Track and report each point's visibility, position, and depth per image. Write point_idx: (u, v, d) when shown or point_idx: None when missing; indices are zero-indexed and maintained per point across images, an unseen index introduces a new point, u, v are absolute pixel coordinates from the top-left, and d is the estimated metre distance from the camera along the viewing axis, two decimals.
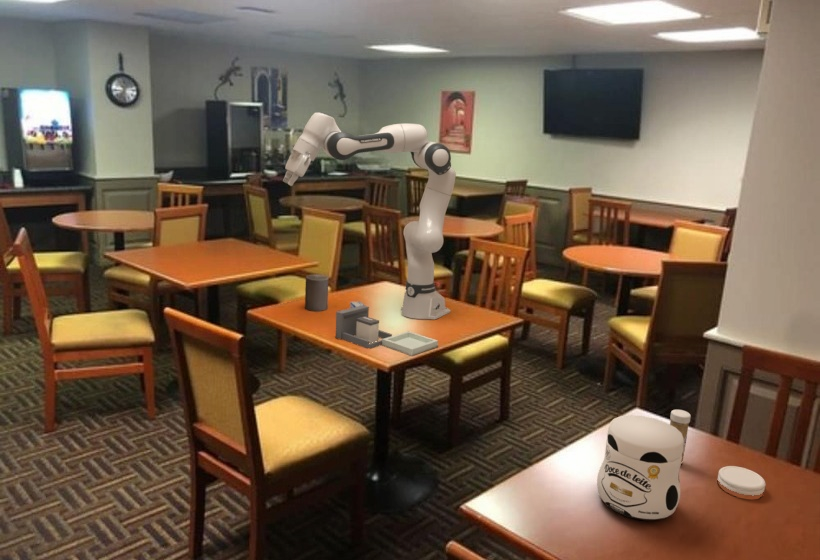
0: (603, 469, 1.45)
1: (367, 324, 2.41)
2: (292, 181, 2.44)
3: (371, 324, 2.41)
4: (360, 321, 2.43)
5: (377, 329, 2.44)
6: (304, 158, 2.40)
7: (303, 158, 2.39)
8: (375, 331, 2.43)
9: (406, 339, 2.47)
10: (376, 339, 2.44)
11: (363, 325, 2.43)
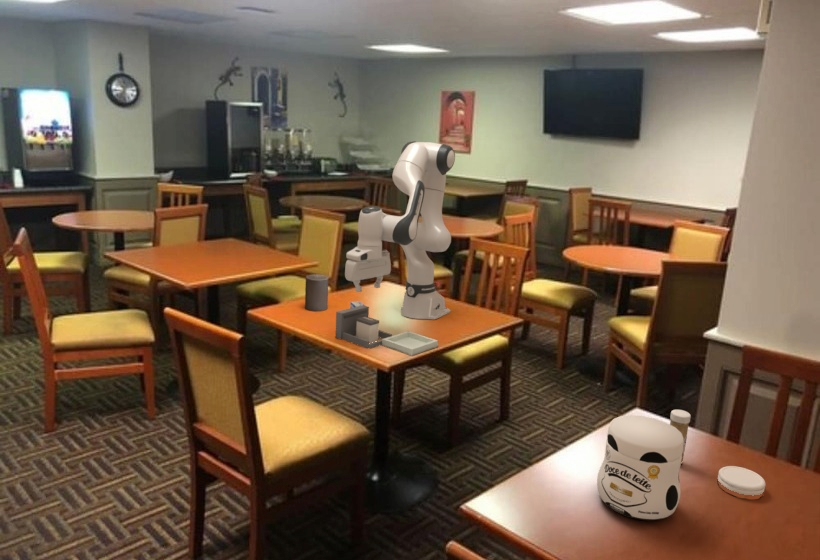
0: (603, 469, 1.45)
1: (367, 324, 2.41)
2: None
3: (371, 324, 2.41)
4: (360, 321, 2.43)
5: (377, 329, 2.44)
6: None
7: None
8: (375, 331, 2.43)
9: (406, 339, 2.47)
10: (376, 339, 2.44)
11: (363, 325, 2.43)
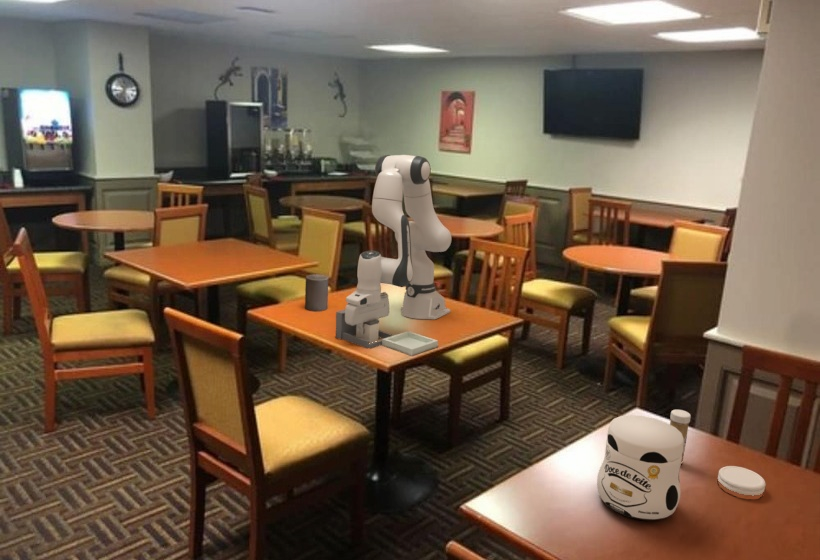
0: (603, 469, 1.45)
1: (367, 324, 2.41)
2: None
3: (371, 324, 2.41)
4: None
5: (377, 329, 2.44)
6: None
7: None
8: (375, 331, 2.43)
9: (406, 339, 2.47)
10: (376, 339, 2.44)
11: (363, 325, 2.43)
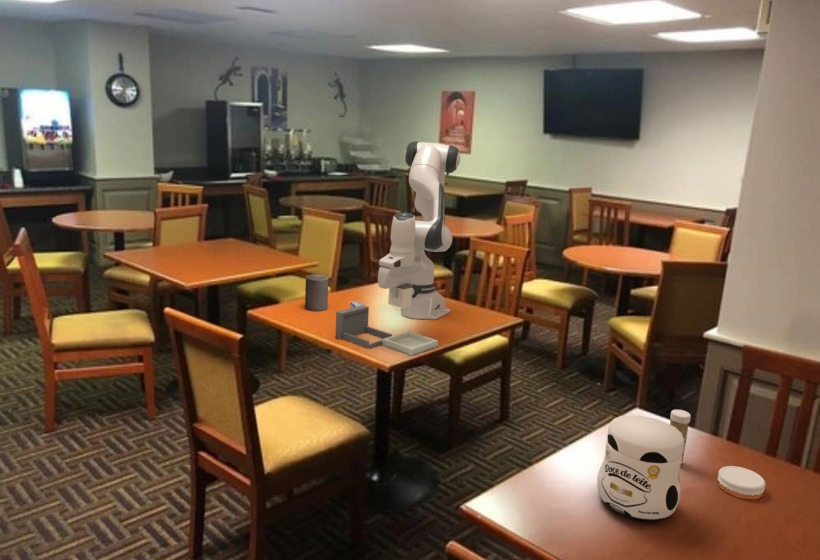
0: (603, 469, 1.45)
1: (400, 288, 2.35)
2: None
3: (404, 288, 2.34)
4: None
5: (410, 293, 2.37)
6: None
7: None
8: (408, 295, 2.36)
9: (406, 339, 2.47)
10: (409, 304, 2.38)
11: (396, 289, 2.36)
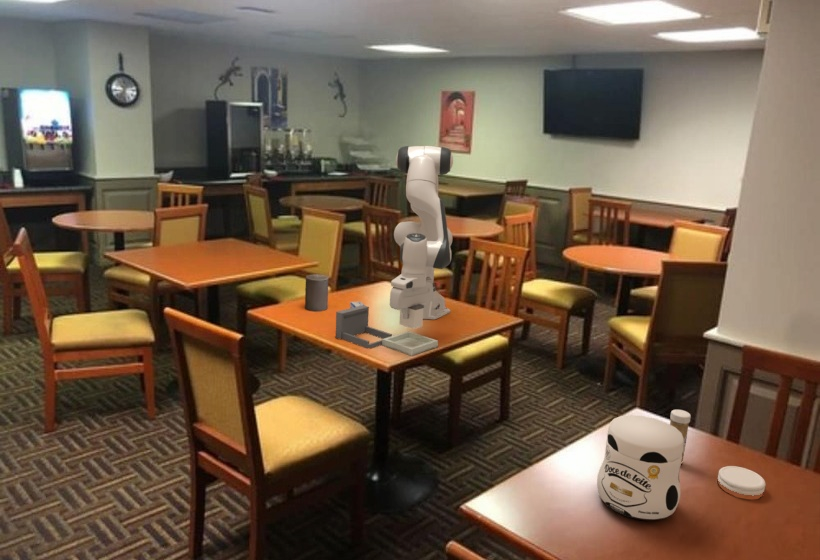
0: (603, 469, 1.45)
1: (412, 309, 2.35)
2: None
3: (416, 309, 2.34)
4: None
5: (422, 314, 2.37)
6: None
7: None
8: (420, 316, 2.37)
9: (406, 339, 2.47)
10: (420, 324, 2.38)
11: (407, 310, 2.36)
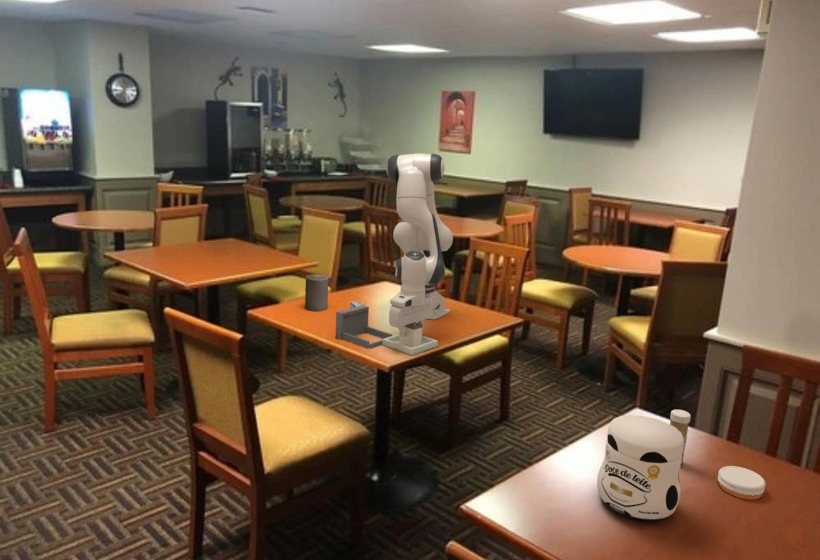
0: (603, 469, 1.45)
1: (411, 328, 2.37)
2: None
3: (415, 328, 2.36)
4: None
5: (421, 333, 2.39)
6: None
7: None
8: (419, 335, 2.39)
9: None
10: (419, 343, 2.40)
11: (406, 329, 2.38)
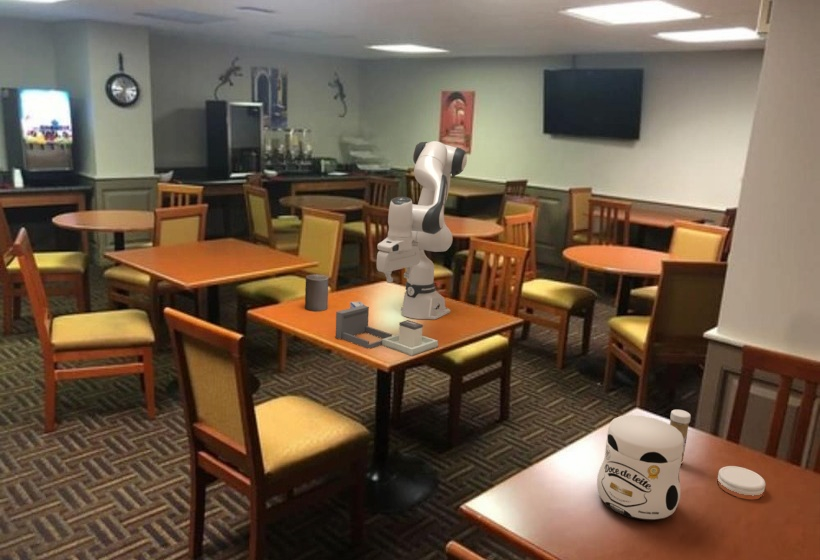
0: (603, 469, 1.45)
1: (411, 328, 2.37)
2: None
3: (415, 328, 2.36)
4: (403, 325, 2.39)
5: (421, 333, 2.39)
6: None
7: None
8: (419, 335, 2.39)
9: None
10: (419, 343, 2.40)
11: (406, 329, 2.38)
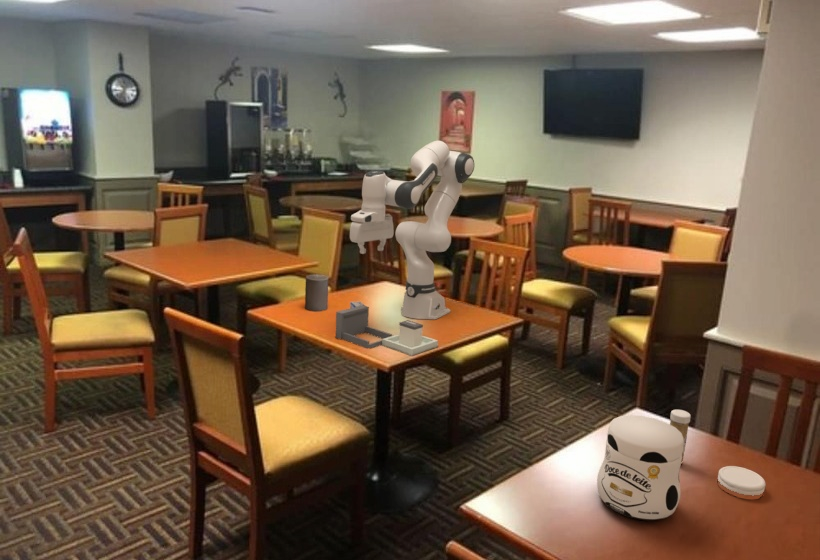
0: (603, 469, 1.45)
1: (411, 328, 2.37)
2: None
3: (415, 328, 2.36)
4: (403, 325, 2.39)
5: (421, 333, 2.39)
6: None
7: None
8: (419, 335, 2.39)
9: None
10: (419, 343, 2.40)
11: (406, 329, 2.38)
